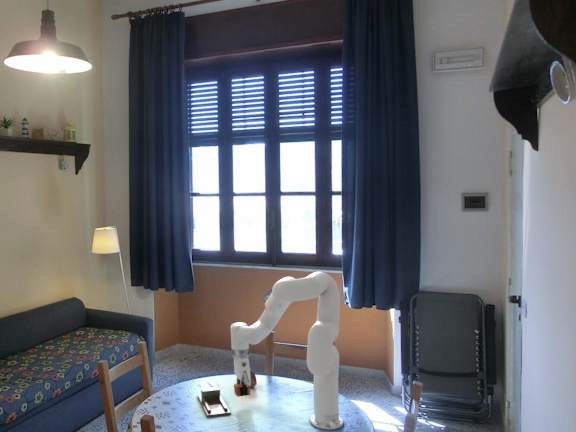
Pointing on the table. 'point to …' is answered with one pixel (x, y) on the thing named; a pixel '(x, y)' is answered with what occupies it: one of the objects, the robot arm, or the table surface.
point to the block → (237, 389)
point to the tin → (253, 379)
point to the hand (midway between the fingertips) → (242, 392)
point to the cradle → (213, 402)
